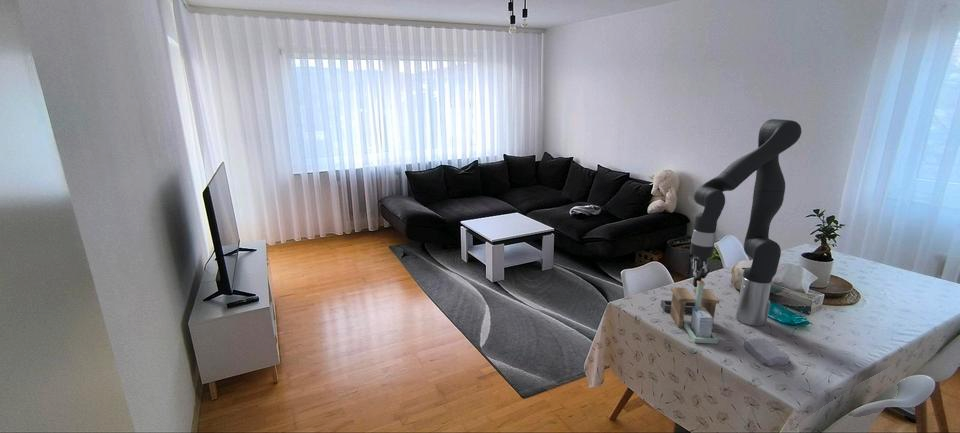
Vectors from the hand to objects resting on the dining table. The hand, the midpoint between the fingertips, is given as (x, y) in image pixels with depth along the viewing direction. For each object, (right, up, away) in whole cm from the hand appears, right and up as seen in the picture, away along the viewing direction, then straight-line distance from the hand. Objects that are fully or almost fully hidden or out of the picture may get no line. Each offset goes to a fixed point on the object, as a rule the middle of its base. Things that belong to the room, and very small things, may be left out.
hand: (696, 286), depth 161 cm
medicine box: (-1, -17, -4) cm, 17 cm away
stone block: (+15, -21, -17) cm, 31 cm away
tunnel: (0, -14, +5) cm, 15 cm away
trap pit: (+1, -12, +14) cm, 18 cm away
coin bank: (+40, -6, +36) cm, 54 cm away
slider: (-1, -17, -5) cm, 17 cm away
